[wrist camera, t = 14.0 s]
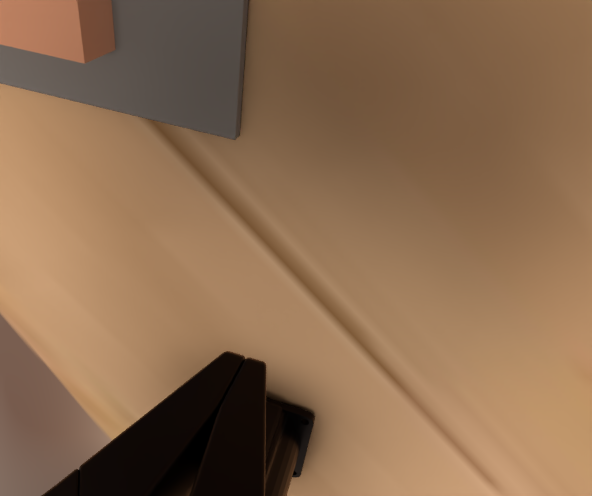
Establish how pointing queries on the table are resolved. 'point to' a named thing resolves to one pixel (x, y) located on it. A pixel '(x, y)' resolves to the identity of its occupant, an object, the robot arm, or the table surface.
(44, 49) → the block
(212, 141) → the table surface
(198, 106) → the mat
